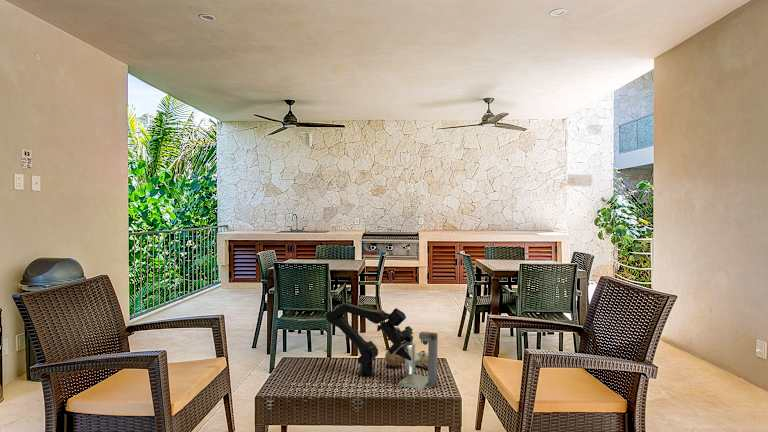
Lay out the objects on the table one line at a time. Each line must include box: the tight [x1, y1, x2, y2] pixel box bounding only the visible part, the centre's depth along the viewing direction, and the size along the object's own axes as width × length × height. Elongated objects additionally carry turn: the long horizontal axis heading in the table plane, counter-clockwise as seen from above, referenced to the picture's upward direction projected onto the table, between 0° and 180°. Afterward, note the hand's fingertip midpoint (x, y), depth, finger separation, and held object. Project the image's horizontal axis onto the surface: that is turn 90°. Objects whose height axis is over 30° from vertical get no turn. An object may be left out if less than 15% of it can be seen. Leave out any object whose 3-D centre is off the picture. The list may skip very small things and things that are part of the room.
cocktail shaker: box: [404, 342, 416, 375], centre depth 212 cm, size 5×5×14 cm
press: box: [398, 331, 438, 390], centre depth 208 cm, size 16×19×23 cm
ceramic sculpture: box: [415, 350, 441, 370], centre depth 234 cm, size 11×9×15 cm
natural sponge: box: [384, 350, 402, 368], centre depth 234 cm, size 9×9×10 cm
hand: (412, 358), depth 211 cm, fingers closed on cocktail shaker, 5 cm apart
